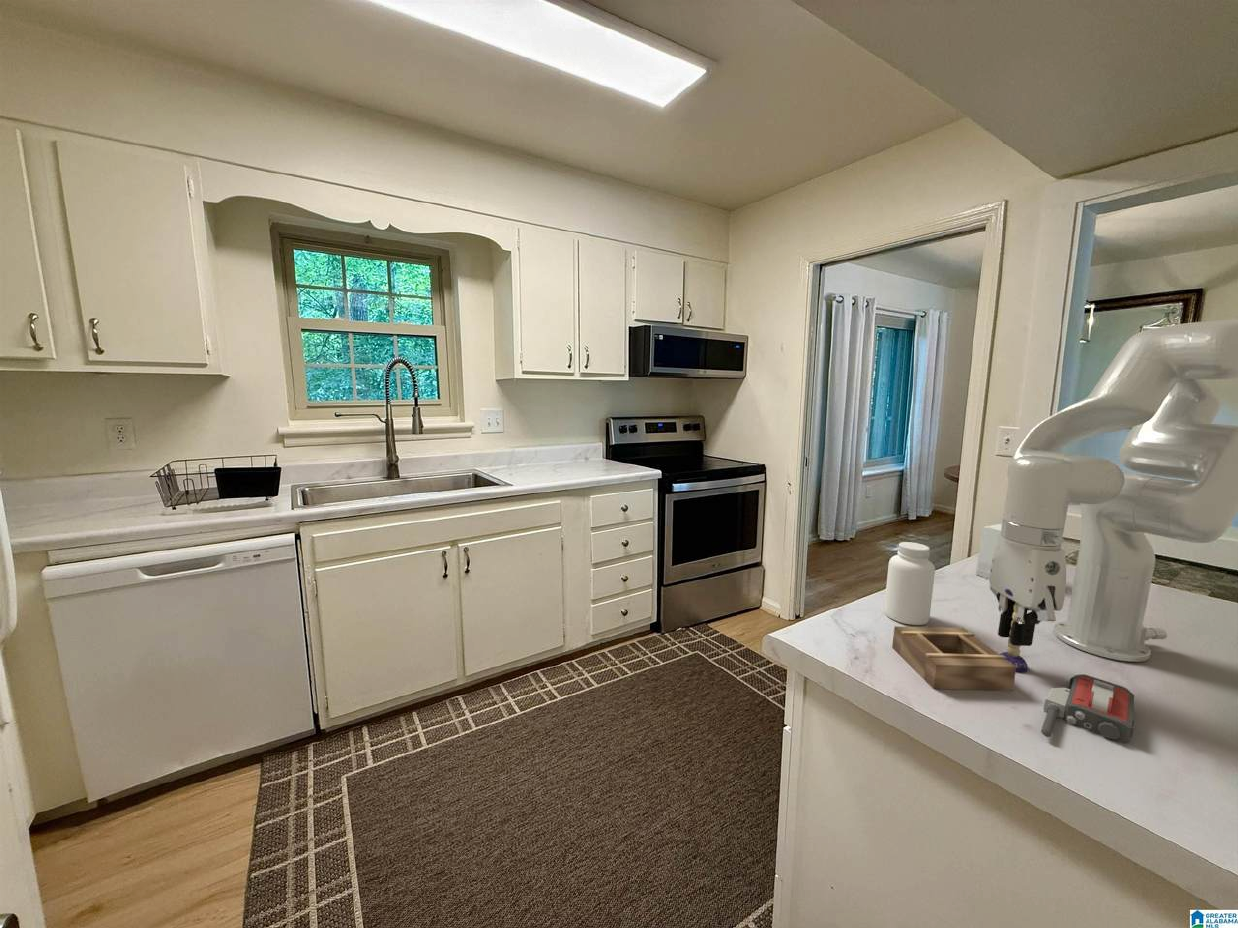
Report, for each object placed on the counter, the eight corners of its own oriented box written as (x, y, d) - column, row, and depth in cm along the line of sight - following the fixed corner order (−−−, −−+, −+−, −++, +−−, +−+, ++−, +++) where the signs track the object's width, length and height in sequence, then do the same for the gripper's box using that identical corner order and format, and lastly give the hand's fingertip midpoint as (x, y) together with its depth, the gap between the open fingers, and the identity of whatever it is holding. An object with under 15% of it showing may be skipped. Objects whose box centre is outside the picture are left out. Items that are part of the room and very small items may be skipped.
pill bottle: (925, 612, 101) (934, 542, 98) (931, 630, 93) (941, 555, 91) (882, 605, 104) (889, 537, 102) (884, 621, 97) (892, 548, 94)
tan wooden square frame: (960, 648, 87) (963, 626, 86) (1012, 690, 75) (1016, 664, 74) (892, 647, 87) (894, 624, 86) (933, 688, 75) (936, 662, 75)
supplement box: (1008, 585, 115) (1015, 534, 113) (974, 574, 122) (981, 525, 120) (1025, 581, 118) (1033, 530, 116) (992, 570, 125) (999, 522, 123)
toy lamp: (1035, 675, 79) (1051, 577, 76) (1003, 672, 80) (1017, 575, 77) (1018, 659, 84) (1032, 566, 81) (987, 656, 85) (1000, 564, 82)
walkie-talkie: (1054, 679, 79) (1033, 739, 65) (1059, 654, 78) (1038, 709, 64) (1133, 706, 72) (1127, 778, 59) (1138, 679, 71) (1134, 745, 58)
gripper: (1101, 550, 70) (1080, 668, 73) (1016, 520, 86) (1001, 618, 89) (1048, 549, 70) (1029, 667, 73) (972, 519, 86) (959, 617, 89)
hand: (1014, 639), depth 81 cm, fingers closed on toy lamp
